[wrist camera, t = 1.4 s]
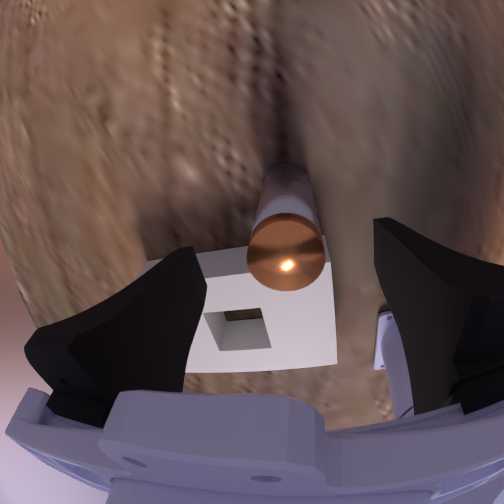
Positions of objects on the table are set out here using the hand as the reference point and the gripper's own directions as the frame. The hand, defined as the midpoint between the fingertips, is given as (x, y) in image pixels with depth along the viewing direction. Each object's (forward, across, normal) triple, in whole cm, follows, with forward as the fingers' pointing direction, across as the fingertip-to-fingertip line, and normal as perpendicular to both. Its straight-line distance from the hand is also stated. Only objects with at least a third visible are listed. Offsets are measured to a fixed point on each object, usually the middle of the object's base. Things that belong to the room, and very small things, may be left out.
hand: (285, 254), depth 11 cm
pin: (+9, 0, 0) cm, 9 cm away
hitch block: (+9, +5, +9) cm, 14 cm away
